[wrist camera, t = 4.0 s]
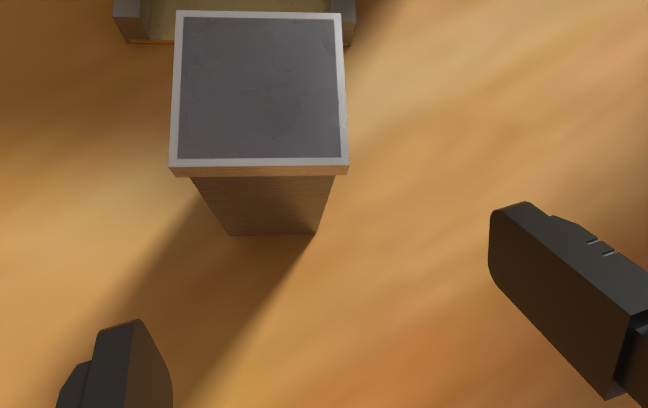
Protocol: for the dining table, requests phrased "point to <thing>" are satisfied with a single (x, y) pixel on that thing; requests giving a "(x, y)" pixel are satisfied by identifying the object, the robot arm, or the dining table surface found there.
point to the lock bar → (260, 116)
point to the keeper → (161, 4)
